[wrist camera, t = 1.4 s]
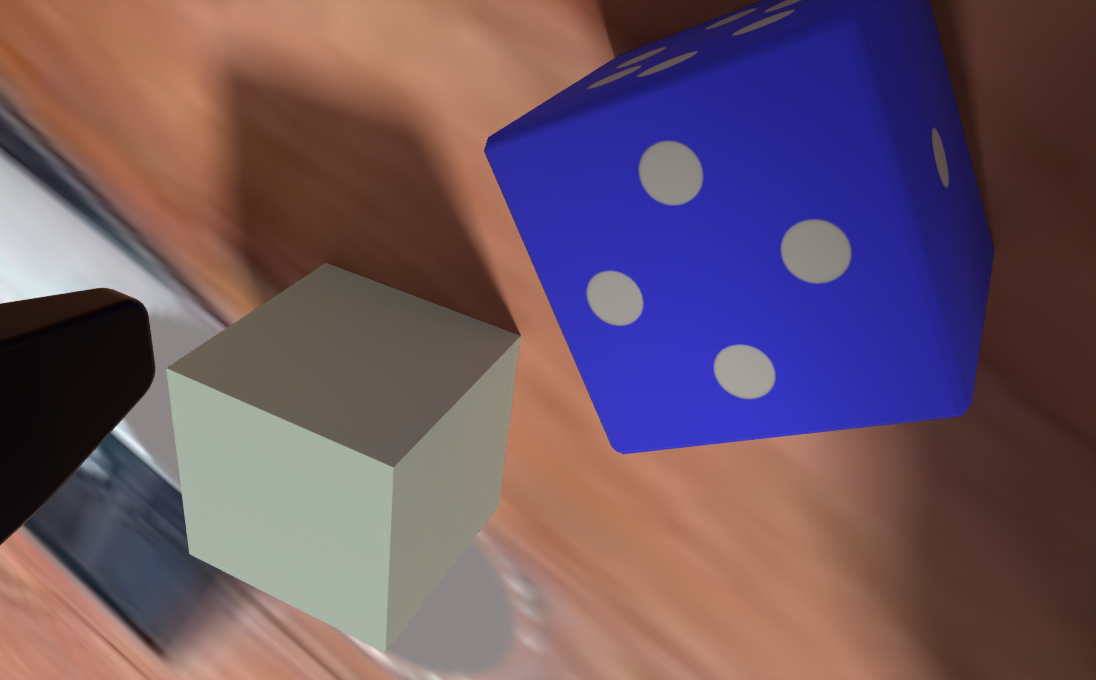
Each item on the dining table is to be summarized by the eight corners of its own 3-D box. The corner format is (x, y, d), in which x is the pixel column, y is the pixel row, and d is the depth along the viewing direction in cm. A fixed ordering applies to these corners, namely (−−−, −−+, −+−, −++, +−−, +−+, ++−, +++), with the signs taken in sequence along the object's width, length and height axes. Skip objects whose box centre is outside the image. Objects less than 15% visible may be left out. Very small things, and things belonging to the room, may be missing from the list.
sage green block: (500, 504, 23) (385, 652, 19) (328, 430, 24) (189, 553, 20) (522, 333, 20) (393, 467, 16) (327, 261, 21) (166, 368, 18)
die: (997, 254, 15) (973, 421, 11) (710, 310, 18) (611, 460, 14) (916, -60, 13) (855, 7, 10) (615, 55, 16) (474, 143, 12)
